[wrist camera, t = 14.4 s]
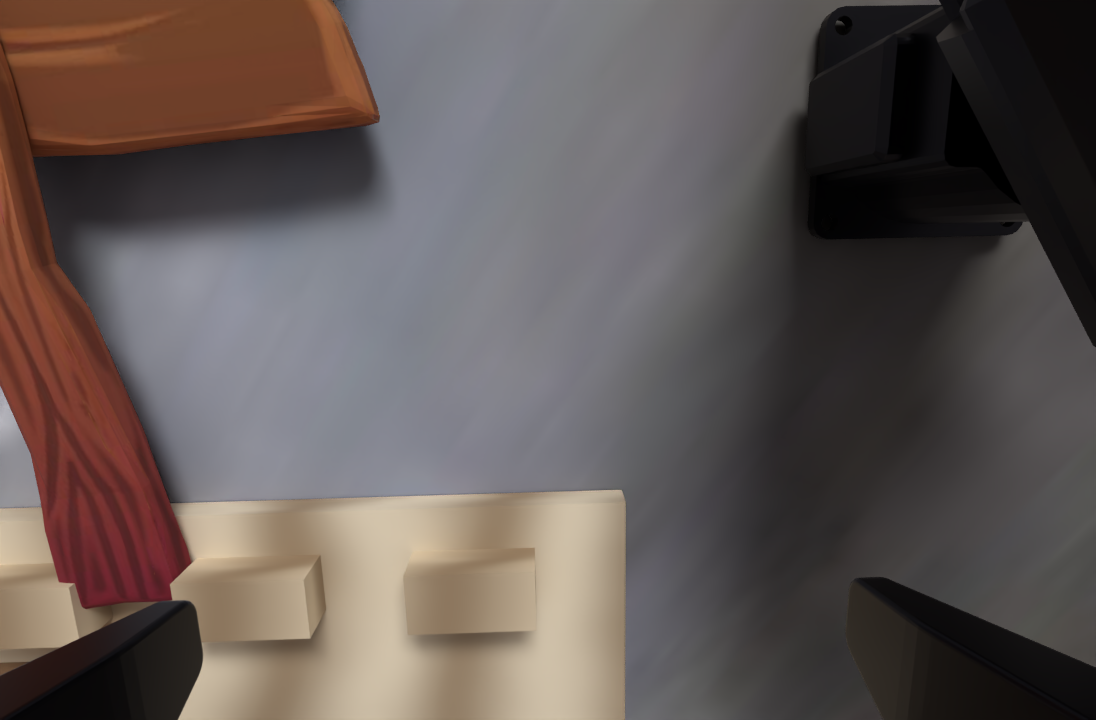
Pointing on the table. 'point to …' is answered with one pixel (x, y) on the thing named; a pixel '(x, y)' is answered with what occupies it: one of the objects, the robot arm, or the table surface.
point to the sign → (46, 292)
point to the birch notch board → (372, 606)
